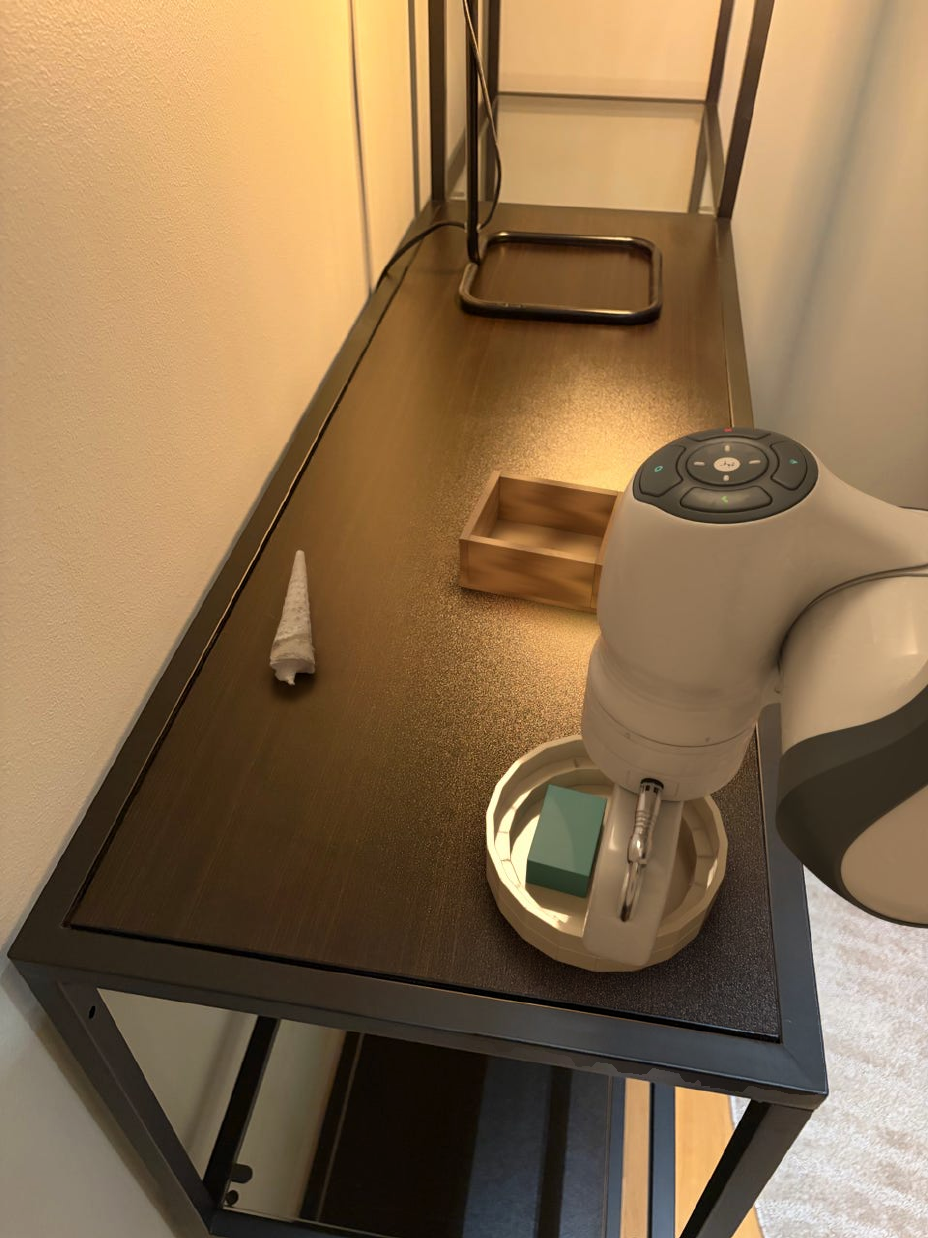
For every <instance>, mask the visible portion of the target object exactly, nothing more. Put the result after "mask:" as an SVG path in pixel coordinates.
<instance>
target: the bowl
mask: <svg viewBox="0 0 928 1238" xmlns="http://www.w3.org/2000/svg"><path fill="white" fill-rule="evenodd" d="M549 784H550V785H554V786H558V787H562V788H566V789H570V790H574V791H578V792H582V793H586V794H590V795H594V796H598V797H602V798H606V799H607V805H606V810H605V816H604V822H603V826H602V831H601V835H600V839H599V843H598V848H597V852H596V856H595V861H594V865H593V869H592V874H591V878H590V882H589V886H588V891H587V895H586V898H581V897H577V896H574V895H570V894H566V893H563V892H559V891H556V890H552V889H548V888H545V887H541V886H538V885H534V884H530V883H527V882H525V878H526V862H527V857H528V853H529V850H530V847H531V843H532V840H533V836H534V833H535V830H536V826H537V823H538V819H539V816H540V813H541V809H542V806H543V802H544V799H545V796H546V792H547V789H548V786H549ZM614 786H615V782H614V781H612V780H611V779H610V778H608V777H607V776H606V775H605V774H604V773H603V772H602V771H601V770H600V769H599V768H598V767H597V766H596V765H595V764H594V762H593V761H592V759H591V758H590V756H589V755H588V753H587V751H586V749H585V746H584V744H583V740H582V736H581V733H580V734H571V735H568V736H565V737H561V738H558V739H554V740H550V741H547V742H543V743H541V744H539V745H538V746H536V747H535V748H533V749H532V750H530V751H528V752H527V753H525V754H524V755H522V756H520V757H519V758H517V759H516V760H515V761H514V762H513V763H512V764H511V766H510V767H509V768H508V769H507V771H505V773H504V774H503V775H502V777H501V778H500V779H499V780H498V781H497V782H496V784H495V787H494V788H493V793H492V795H491V797H490V800H489V804H488V807H487V809H486V813H485V867H486V869H485V870H486V879H487V882H488V885H489V887H490V891H491V893H492V896H493V898H494V900H495V903H496V906H497V908H498V911H499V912H500V913H501V914H502V916H503V917H504V918H505V919H506V921H507V922H508V923H509V924H510V925H511V926H512V928H513V929H514V930H515V931H516V933H517V934H518V935H519V936H520V938H521V939H522V940H524V941H525V942H527V943H528V944H529V945H531V946H533V947H535V948H536V949H537V950H539V951H540V952H542V953H544V954H545V955H547V956H548V957H550V958H551V959H553V960H554V961H557V962H559V963H562V964H563V963H564V964H567V965H570V966H573V967H577V968H581V969H583V970H587V971H590V972H595V973H612V972H613V973H615V972H616V973H617V972H621V973H622V972H623V973H625V972H637V971H640V970H642V969H645V968H647V967H648V968H649V967H650V966H653V965H656V964H659V963H662V962H664V961H665V962H666V961H668V960H669V959H672V958H673V957H674V956H675V955H676V954H677V953H679V952H680V951H681V950H683V948H685V947H686V946H687V945H689V944H690V943H691V942H692V941H694V939H695V938H696V937H697V936H698V935H699V933H700V931H701V930H702V928H703V926H704V925H705V922H706V920H707V919H708V917H709V915H710V913H711V911H712V910H713V908H714V905H715V902H716V900H717V897H718V894H719V891H720V889H721V886H722V884H723V881H724V878H725V875H726V867H727V866H726V865H727V856H728V848H729V841H728V837H727V834H726V830H725V826H724V825H725V824H724V822H723V818H722V814H721V810H720V809H719V807H718V805H717V804H716V802H715V800H714V799H713V797H712V796H711V794H709V795H707V796H704V797H701V798H697V799H692V800H685V801H684V806H683V812H682V818H681V825H680V831H679V837H678V843H677V850H676V856H675V862H674V868H673V874H672V879H671V884H670V888H669V893H668V897H667V901H666V905H665V909H664V912H663V916H662V920H661V924H660V927H659V931H658V934H657V938H656V941H655V945H654V948H653V951H652V955H651V957H650V959H649V961H648V962H647V964H645V965H643V966H633V965H628V964H623V963H620V962H616V961H612V960H609V959H606V958H603V957H600V956H598V955H595V954H593V953H591V952H589V951H588V950H586V949H585V947H584V946H583V942H582V934H583V928H584V923H585V918H586V913H587V908H588V903H589V898H590V893H591V888H592V883H593V878H594V874H595V869H596V864H597V860H598V855H599V851H600V847H601V842H602V838H603V834H604V829H605V825H606V821H607V816H608V812H609V808H610V803H611V799H612V795H613V790H614Z"/></svg>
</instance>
